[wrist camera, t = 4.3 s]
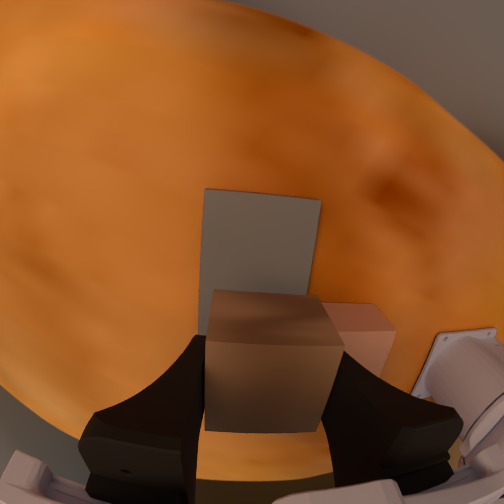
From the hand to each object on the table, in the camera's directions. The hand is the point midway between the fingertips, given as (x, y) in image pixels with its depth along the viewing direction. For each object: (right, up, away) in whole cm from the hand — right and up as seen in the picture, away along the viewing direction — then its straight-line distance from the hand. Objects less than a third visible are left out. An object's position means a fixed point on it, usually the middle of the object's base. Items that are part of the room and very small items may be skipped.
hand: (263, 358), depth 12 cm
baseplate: (0, +2, +8) cm, 8 cm away
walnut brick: (0, +1, +1) cm, 2 cm away
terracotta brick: (+6, -1, +9) cm, 11 cm away
